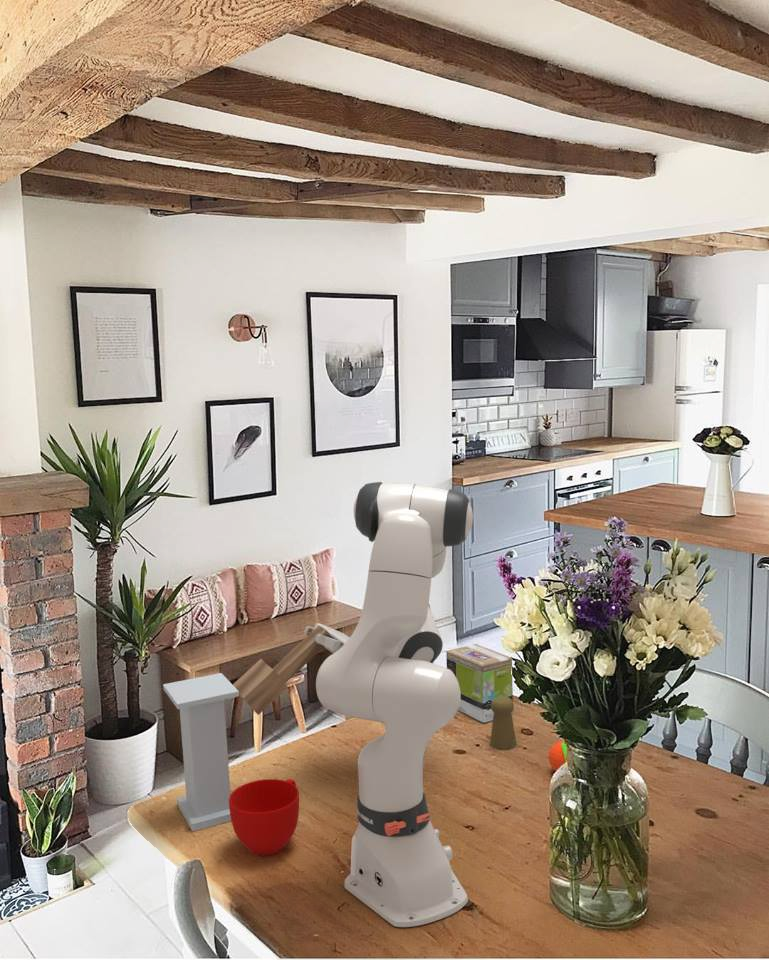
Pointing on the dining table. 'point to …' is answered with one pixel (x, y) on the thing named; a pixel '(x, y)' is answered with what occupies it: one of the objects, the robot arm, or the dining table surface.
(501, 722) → the brown pawn
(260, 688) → the handled block
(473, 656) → the tea box
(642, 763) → the dining table surface
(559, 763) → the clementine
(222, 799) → the painted stand
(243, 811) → the ceramic cup
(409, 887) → the robot arm
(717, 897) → the dining table surface
